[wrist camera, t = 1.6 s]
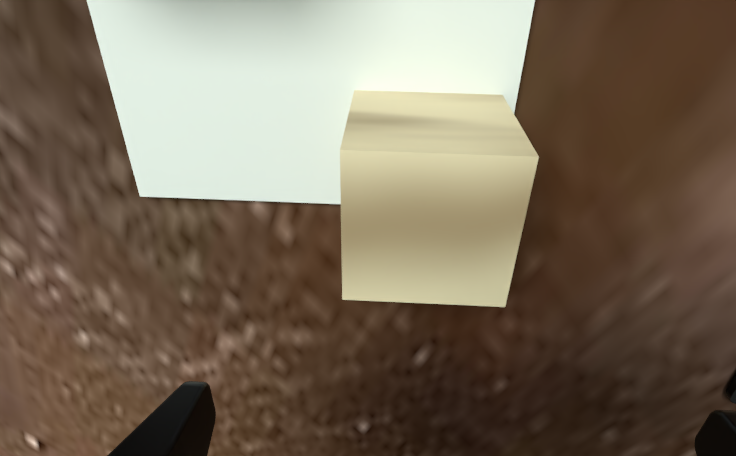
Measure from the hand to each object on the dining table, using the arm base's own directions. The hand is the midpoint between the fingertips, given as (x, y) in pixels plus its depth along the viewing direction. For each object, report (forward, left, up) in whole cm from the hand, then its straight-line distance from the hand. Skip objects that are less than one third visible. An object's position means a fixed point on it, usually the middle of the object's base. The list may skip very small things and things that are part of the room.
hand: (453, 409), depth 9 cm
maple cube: (0, 0, -11) cm, 11 cm away
